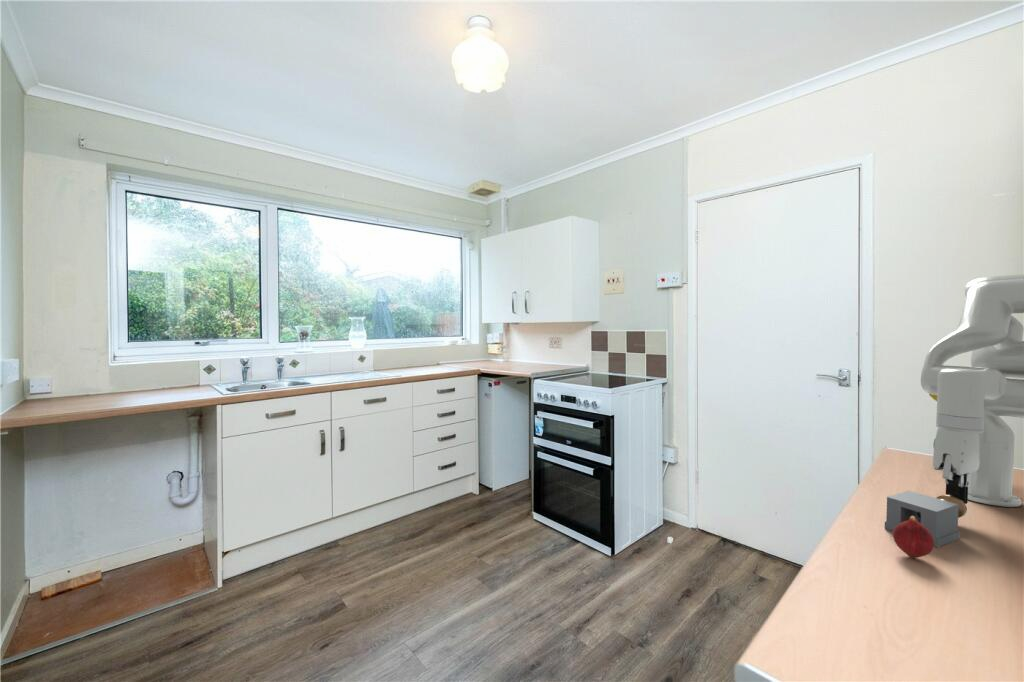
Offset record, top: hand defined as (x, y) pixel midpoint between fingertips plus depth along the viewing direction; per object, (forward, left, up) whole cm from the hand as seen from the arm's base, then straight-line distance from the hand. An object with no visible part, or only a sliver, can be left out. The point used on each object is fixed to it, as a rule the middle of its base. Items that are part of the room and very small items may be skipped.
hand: (956, 501), depth 99 cm
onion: (+29, +4, -5) cm, 30 cm away
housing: (+15, 0, -4) cm, 16 cm away
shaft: (+8, 0, -3) cm, 9 cm away
